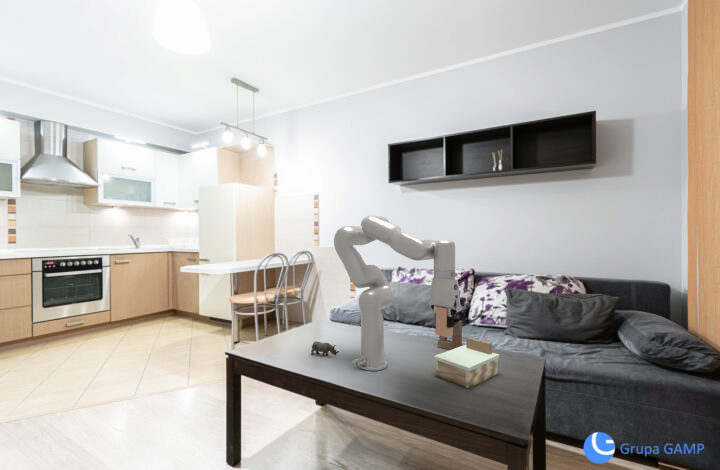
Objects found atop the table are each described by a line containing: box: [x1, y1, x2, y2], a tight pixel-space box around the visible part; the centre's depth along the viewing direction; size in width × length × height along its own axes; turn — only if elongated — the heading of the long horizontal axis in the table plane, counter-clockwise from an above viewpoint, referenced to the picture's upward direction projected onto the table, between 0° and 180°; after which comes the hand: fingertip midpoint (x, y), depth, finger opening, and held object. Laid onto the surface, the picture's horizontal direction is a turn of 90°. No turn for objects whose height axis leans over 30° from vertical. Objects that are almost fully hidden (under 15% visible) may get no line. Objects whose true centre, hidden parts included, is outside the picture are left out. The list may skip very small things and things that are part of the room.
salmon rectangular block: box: [435, 306, 453, 338], centre depth 117 cm, size 4×4×10 cm
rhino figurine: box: [310, 341, 340, 358], centre depth 146 cm, size 4×14×6 cm, turn 68°
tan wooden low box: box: [435, 358, 499, 389], centre depth 125 cm, size 20×14×6 cm
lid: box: [433, 336, 500, 371], centre depth 125 cm, size 21×15×5 cm
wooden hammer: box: [437, 319, 463, 351], centre depth 155 cm, size 4×11×18 cm, turn 51°
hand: (444, 325), depth 117 cm, fingers closed on salmon rectangular block, 4 cm apart
